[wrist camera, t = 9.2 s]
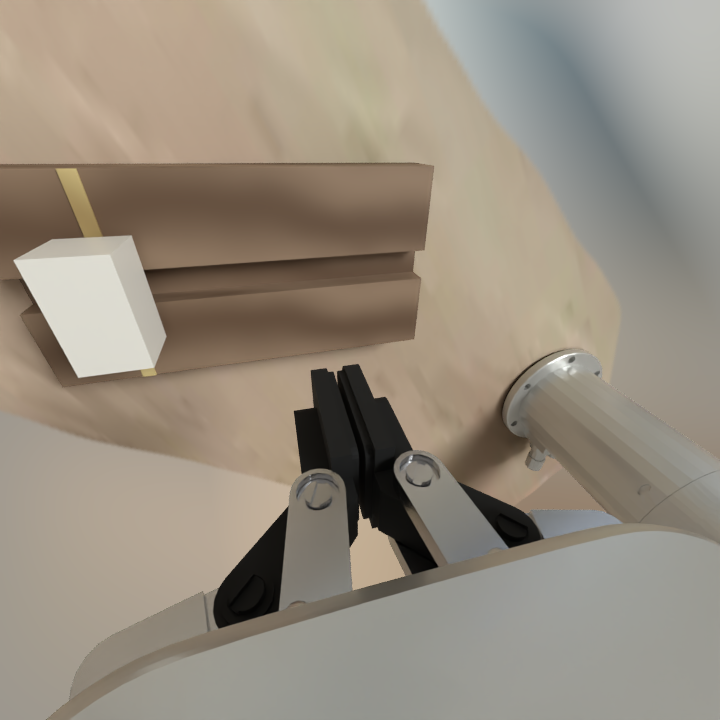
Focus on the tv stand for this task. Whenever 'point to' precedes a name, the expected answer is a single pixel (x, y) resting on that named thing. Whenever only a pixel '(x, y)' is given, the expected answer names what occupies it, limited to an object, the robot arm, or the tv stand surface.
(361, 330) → the fader console
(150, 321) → the fader knob
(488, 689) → the robot arm
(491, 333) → the tv stand surface
